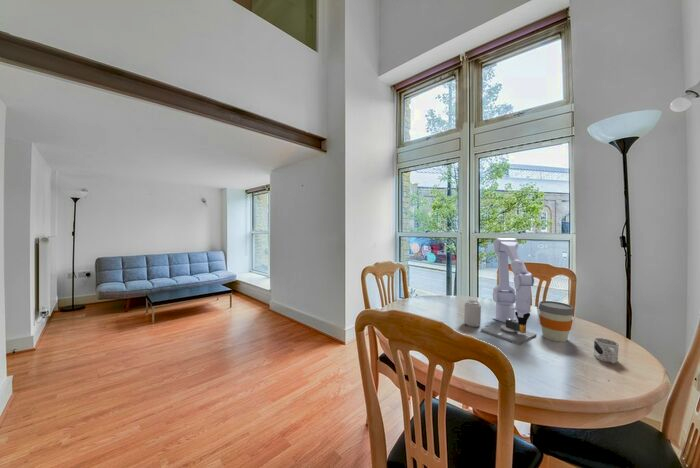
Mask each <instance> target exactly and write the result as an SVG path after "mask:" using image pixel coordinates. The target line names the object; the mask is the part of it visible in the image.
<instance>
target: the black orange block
mask: <svg viewBox="0 0 700 468" xmlns="http://www.w3.org/2000/svg"><path fill="white" fill-rule="evenodd" d="M502 324H503V325H501V330H502V331H505V332H508V333H517V332H521V333H526V331H527V324H526V325H525V324H522V323H519V322H518V321H517V320H514V321H513V320H512V319H511V318H507V320H506V323H502Z"/></svg>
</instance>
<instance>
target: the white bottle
mask: <svg viewBox="0 0 700 468" xmlns="http://www.w3.org/2000/svg"><path fill="white" fill-rule="evenodd" d="M481 308H482V305H481V304H480V302H479V301H477V300H466V302H465V303H464V317H463V318H464V324H465V325H466V326H468V327H471V328H477V327H479V326H481V320H482V319H481V317H482V315H481V314H482V311H481V310H482V309H481Z"/></svg>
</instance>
